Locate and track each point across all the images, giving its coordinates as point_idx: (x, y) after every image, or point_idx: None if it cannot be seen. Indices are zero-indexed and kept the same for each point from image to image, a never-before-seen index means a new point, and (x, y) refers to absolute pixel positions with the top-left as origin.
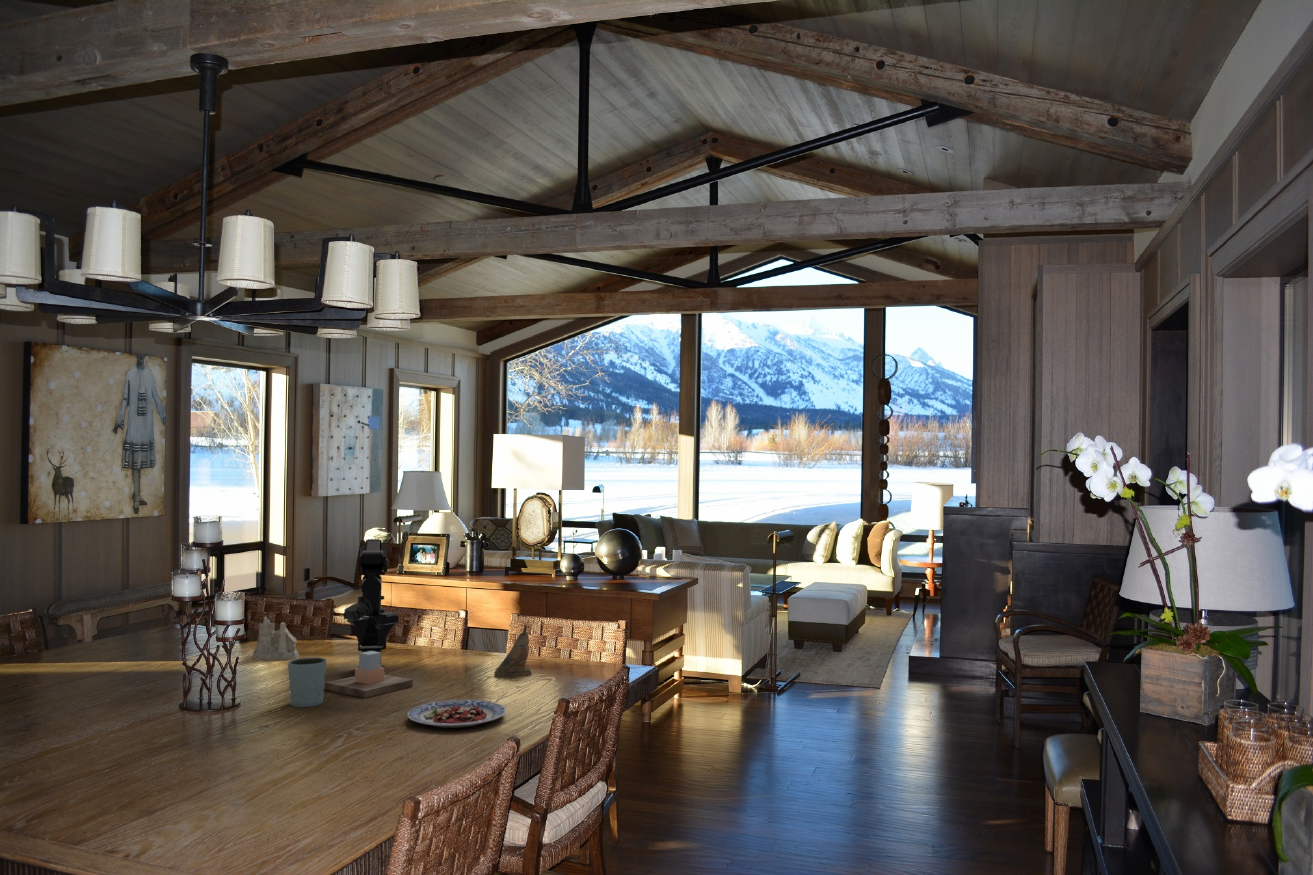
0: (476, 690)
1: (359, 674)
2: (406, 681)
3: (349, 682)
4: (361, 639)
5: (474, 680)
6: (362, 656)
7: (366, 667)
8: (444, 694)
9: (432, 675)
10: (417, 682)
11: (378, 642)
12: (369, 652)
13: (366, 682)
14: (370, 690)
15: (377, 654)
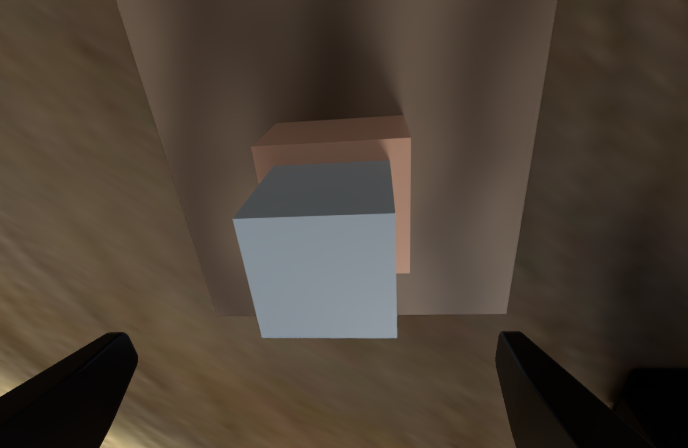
0: (30, 368)
1: (356, 130)
2: (208, 284)
3: (408, 73)
4: (510, 391)
5: (173, 439)
6: (343, 201)
7: (297, 169)
8: (18, 280)
9: (337, 425)
10: (276, 342)
11: (85, 362)
12: (341, 287)
13: (289, 124)
14: (131, 37)
15: (258, 298)
